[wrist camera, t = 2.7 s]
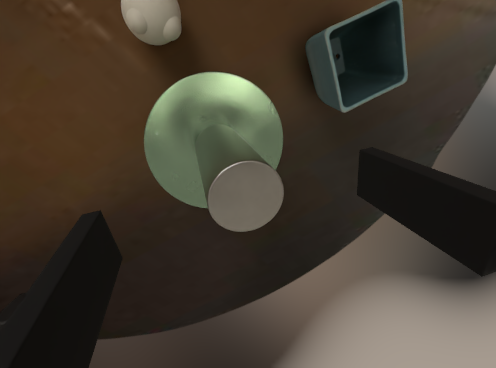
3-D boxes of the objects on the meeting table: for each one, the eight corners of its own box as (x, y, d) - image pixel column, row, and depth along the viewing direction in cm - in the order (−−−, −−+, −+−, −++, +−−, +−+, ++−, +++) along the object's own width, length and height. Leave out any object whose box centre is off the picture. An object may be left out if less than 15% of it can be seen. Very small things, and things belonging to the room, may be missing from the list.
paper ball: (115, 4, 26) (99, -14, 21) (160, -23, 26) (156, -47, 21) (150, 59, 29) (144, 55, 23) (191, 34, 29) (194, 25, 24)
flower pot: (306, 106, 36) (342, 114, 28) (287, 41, 32) (324, 29, 24) (358, 80, 36) (409, 81, 28) (346, 13, 32) (402, -8, 24)
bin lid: (115, 105, 19) (46, 136, 9) (255, 49, 20) (331, 21, 10) (184, 221, 24) (189, 320, 15) (292, 173, 25) (364, 235, 16)
